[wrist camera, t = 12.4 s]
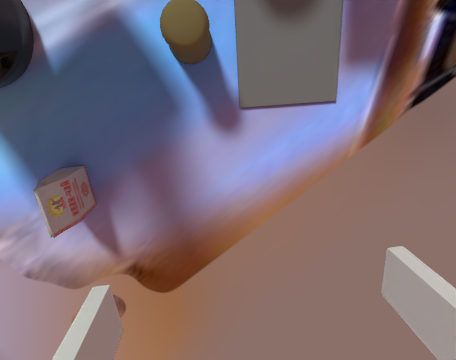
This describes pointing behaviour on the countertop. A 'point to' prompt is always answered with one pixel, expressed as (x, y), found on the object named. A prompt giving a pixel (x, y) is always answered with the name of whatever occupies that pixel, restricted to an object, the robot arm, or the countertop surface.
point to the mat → (287, 51)
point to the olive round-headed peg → (186, 30)
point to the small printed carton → (64, 198)
